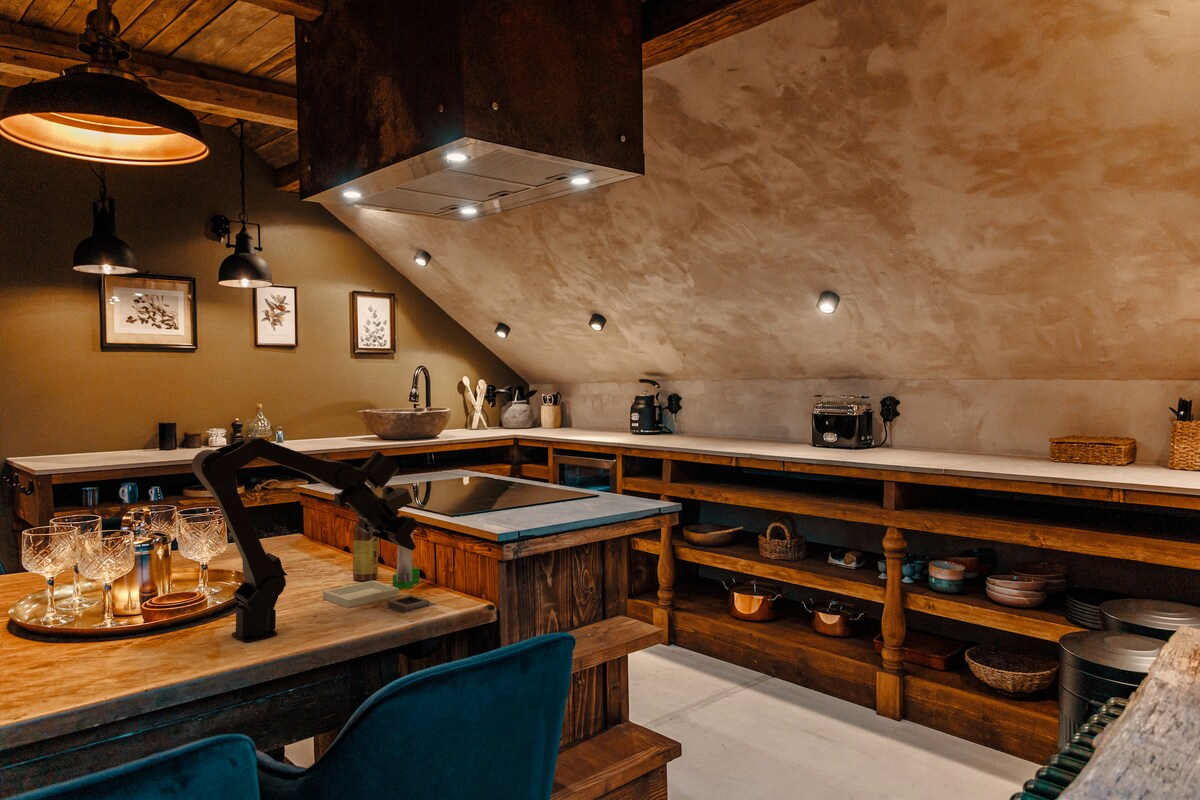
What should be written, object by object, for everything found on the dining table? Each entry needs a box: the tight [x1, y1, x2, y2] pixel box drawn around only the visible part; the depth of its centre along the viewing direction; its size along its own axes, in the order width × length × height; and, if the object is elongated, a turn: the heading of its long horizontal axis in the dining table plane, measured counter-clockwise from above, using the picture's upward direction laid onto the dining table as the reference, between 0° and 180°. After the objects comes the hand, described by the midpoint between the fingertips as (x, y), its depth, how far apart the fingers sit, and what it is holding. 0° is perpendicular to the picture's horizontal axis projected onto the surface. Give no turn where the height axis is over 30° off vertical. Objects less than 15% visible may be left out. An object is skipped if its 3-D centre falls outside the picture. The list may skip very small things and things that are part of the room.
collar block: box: [379, 594, 437, 614], centre depth 172 cm, size 10×8×1 cm
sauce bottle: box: [352, 517, 379, 582], centre depth 195 cm, size 6×6×20 cm
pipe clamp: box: [392, 564, 421, 591], centre depth 188 cm, size 11×4×5 cm, turn 173°
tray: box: [322, 579, 400, 609], centre depth 177 cm, size 14×11×2 cm
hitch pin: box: [396, 531, 414, 582], centre depth 173 cm, size 4×4×14 cm
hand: (410, 547), depth 173 cm, fingers closed on hitch pin, 3 cm apart
